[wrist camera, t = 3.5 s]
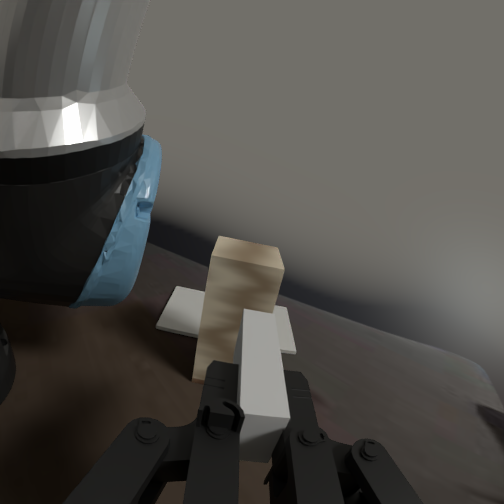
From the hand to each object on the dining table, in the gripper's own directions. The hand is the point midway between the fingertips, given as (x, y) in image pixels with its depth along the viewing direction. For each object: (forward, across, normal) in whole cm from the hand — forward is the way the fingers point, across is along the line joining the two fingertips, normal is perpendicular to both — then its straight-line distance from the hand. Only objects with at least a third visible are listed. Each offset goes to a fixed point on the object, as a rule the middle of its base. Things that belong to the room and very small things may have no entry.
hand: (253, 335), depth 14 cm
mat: (+25, 0, -14) cm, 28 cm away
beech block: (+14, 0, -14) cm, 19 cm away
